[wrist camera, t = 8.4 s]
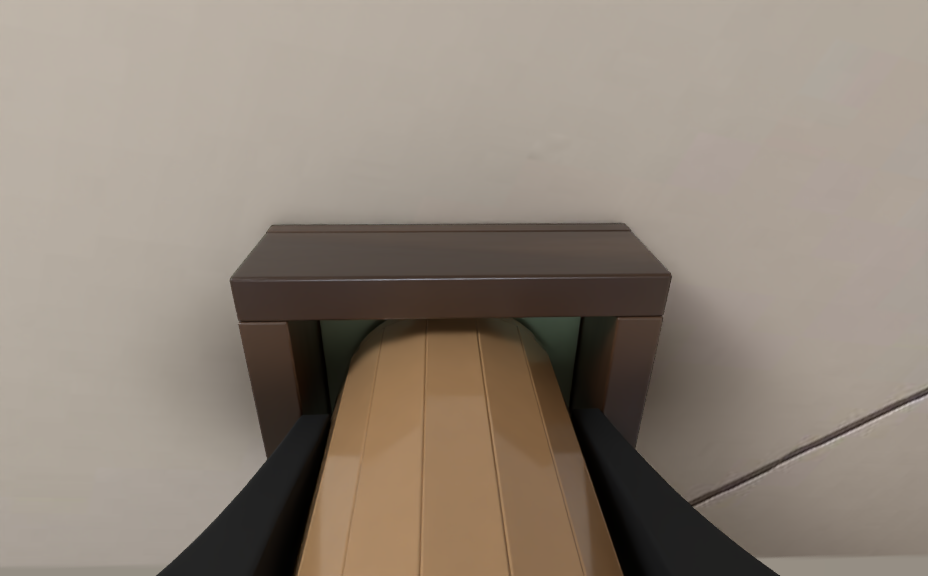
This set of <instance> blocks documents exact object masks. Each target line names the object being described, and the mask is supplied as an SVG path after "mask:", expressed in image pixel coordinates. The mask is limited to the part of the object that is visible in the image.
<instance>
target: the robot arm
mask: <svg viewBox="0 0 928 576" xmlns="http://www.w3.org/2000/svg"><path fill="white" fill-rule="evenodd" d="M571 418H572V420H573V423H574V426H575V429H576V432H577V435H578V438H579V441H580V444H581V447H582V449H583V452H584V455H585V458H586V461H587V464H588V466H589V469H590V472H591V475H592V478H593V481H594V484H595V487H596V490H597V493H598V495H599V498H600V501H601V504H602V507H603V510H604V513H605V516H606V519H607V522H608V524H609V527H610V530H611V533H612V536H613V539H614V542H615V545H616V548H617V550H618V553H619V556H620V559H621V562H622V565H623V568H624V571H625V574H626V576H780V575H778V574H777V573H775V572H774V571H773V570H771V569H770V568H768V567H767V566H766V565H764V564H763V563H761V562H760V561H759V560H757V559H756V558H755V557H753V556H752V555H751V554H749V553H748V552H747V551H745V550H744V549H743V548H741V547H740V546H739V545H737V544H736V543H735V542H734V541H732V540H731V539H730V538H729V537H728V536H726V535H725V534H724V533H723V532H721V531H720V530H719V529H718V528H716V527H715V526H714V525H713V524H712V523H710V522H709V521H708V520H707V519H706V518H704V517H703V516H702V515H701V514H700V513H699V512H698V511H696V510H695V509H694V508H693V507H692V506H691V505H690V504H689V503H688V502H687V501H686V500H685V499H684V498H682V497H681V496H680V495H679V494H678V493H677V492H676V491H675V490H674V489H673V488H672V487H671V486H670V485H669V484H668V483H667V482H666V481H665V480H664V479H663V478H662V477H661V476H660V475H659V474H658V473H657V472H656V471H655V470H654V469H653V468H652V467H651V466H650V465H649V464H648V463H647V462H646V461H645V460H644V458H643V457H642V456H641V455H640V454H639V453H638V452H637V451H636V450H635V449H634V448H633V447H632V445H631V444H630V443H629V442H628V441H627V440H626V439H625V438H624V437H623V435H622V434H621V433H620V432H619V431H618V430H617V429H616V428H615V426H614V425H613V424H612V423H611V422H610V421H609V420H608V418H607V417H606V416H605V415H604V414H603V413H602V412H601V411H600V410H599V409H598V408H593V409H573V410H572V417H571ZM329 426H330V416H329V414H327V415H302V416H301V417H300V418H299V419H298V420H297V421H296V423H295V424H294V425H293V427H292V428H291V430H290V431H289V432H288V434H287V435H286V436H285V438H284V439H283V440H282V442H281V443H280V444H279V445H278V447H277V448H276V449H275V451H274V452H273V453H272V454H271V456H270V457H269V458H268V459H267V461H266V462H265V463H264V464H263V466H262V467H261V468H260V469H259V470H258V472H257V473H256V474H255V475H254V476H253V478H252V479H251V480H250V481H249V482H248V484H247V485H246V486H245V487H244V488H243V490H242V491H241V492H240V493H239V494H238V495H237V496H236V497H235V498H234V500H233V501H232V502H231V503H230V504H229V505H228V506H227V507H226V508H225V509H224V510H223V512H222V513H221V514H220V515H219V516H218V517H217V518H216V519H215V520H214V521H213V522H212V523H211V524H210V525H209V526H208V527H207V529H206V530H205V531H204V532H203V533H202V534H201V535H200V536H199V537H198V538H197V539H196V540H195V541H194V542H192V543H191V544H190V545H189V546H188V547H187V548H186V549H185V550H184V551H183V552H182V553H181V554H180V555H179V556H178V557H177V558H176V559H175V560H173V561H172V562H171V563H170V564H169V565H168V566H167V567H166V568H164V569H163V570H162V571H161V572H160V573H159V574H158V575H156V576H290V574H291V570H292V566H293V562H294V559H295V555H296V551H297V547H298V543H299V539H300V536H301V532H302V528H303V524H304V520H305V517H306V513H307V509H308V505H309V501H310V497H311V494H312V490H313V486H314V482H315V478H316V474H317V471H318V467H319V464H320V460H321V457H322V453H323V449H324V445H325V441H326V438H327V434H328V430H329Z"/></svg>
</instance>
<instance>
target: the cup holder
mask: <svg viewBox="0 0 928 576" xmlns="http://www.w3.org/2000/svg"><path fill="white" fill-rule="evenodd" d="M671 278H672V276H671V273H670V272H669V271H668V270H667V269H666V268H665V267H664V266H663V265H662V263H661V262H660V261H659V260H658V259H657V258H656V257H655V256H654V255H653V254H652V253H651V252H650V251H649V250H648V249H647V247H646V246H645V245H644V244H643V243H642V242H641V241H640V240H639V239H638V238H637V237H636V236H635V235H634V234H633V233H632V232H631V230H630V229H629V228H628V226H627V225H626V224H486V225H272V226H271V227H270V228H269V229H268V231H267V232H266V234H265V235H264V236H263V238H262V239H261V240H260V241H259V243H258V244H257V245H256V246H255V248H254V249H253V250H252V251H251V253H250V254H249V255H248V256H247V258H246V259H245V260H244V261H243V263H242V264H241V265H240V266H239V268H238V269H237V270H236V271H235V273H234V274H233V275H232V276H231V278H230V284H231V289H232V294H233V298H234V303H235V308H236V312H237V317H238V320H239V324H238V325H239V329H240V334H241V339H242V343H243V348H244V353H245V358H246V362H247V367H248V372H249V376H250V381H251V386H252V391H253V395H254V400H255V405H256V409H257V414H258V419H259V423H260V428H261V433H262V438H263V442H264V447H265V452H266V456H267V459H268V458H269V457H270V456H271V454H272V453H273V452H274V451H275V449H276V448H277V447H278V445H279V444H280V443H281V442H282V440H283V439H284V438H285V436H286V435H287V434H288V432H289V431H290V430H291V428H292V427H293V425H294V424H295V423H296V421H297V420H298V419H299V418H300V417H301V416H302V415H327V414H329V416H330V421H331V417H332V413H333V409H334V406H335V402H336V398H337V394H338V390H339V388H340V385H341V383H342V380H343V377H344V374H345V370H346V367H347V364H348V362H349V360H350V358H351V356H352V354H353V352H354V351H355V350H356V348H357V347H358V345H359V344H360V343H361V341H362V340H363V339H364V338H365V337H366V336H367V335H368V334H369V333H370V332H371V331H373V330H374V329H375V328H376V327H378V326H379V325H380V324H382V323H383V322H385V321H387V320H388V319H460V318H513V319H514V320H516V321H518V322H520V323H521V324H522V325H523V326H525V327H526V328H527V329H529V330H530V331H531V332H532V333H533V334H534V335H535V336H536V337H537V338H538V340H539V341H540V342H541V344H542V345H543V346H544V348H545V349H546V351H547V353H548V355H549V357H550V359H551V361H552V364H553V367H554V370H555V373H556V375H557V378H558V380H559V383H560V385H561V388H562V391H563V394H564V397H565V400H566V403H567V406H568V409H569V411H570V414H571V417H572V410H573V409H593V408H598V409H599V410H600V411H601V412H602V413H603V414H604V415H605V416H606V417H607V418H608V420H609V421H610V422H611V423H612V424H613V425H614V426H615V428H616V429H617V430H618V431H619V432H620V433H621V434H622V435H623V437H624V438H625V439H626V440H627V441H628V442H629V443H630V444H631V445H632V447H633V448H634V449H635V447H636V442H637V438H638V433H639V428H640V424H641V419H642V414H643V410H644V405H645V400H646V396H647V391H648V387H649V382H650V377H651V373H652V368H653V363H654V359H655V354H656V349H657V345H658V340H659V335H660V331H661V326H662V322H663V317H662V315H663V314H664V310H665V306H666V301H667V296H668V292H669V287H670V282H671Z"/></svg>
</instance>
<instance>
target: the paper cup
mask: <svg viewBox="0 0 928 576" xmlns="http://www.w3.org/2000/svg"><path fill="white" fill-rule="evenodd" d="M290 576H626V574H625V571H624V568H623V565H622V562H621V559H620V556H619V553H618V550H617V548H616V545H615V542H614V539H613V536H612V533H611V530H610V527H609V524H608V522H607V519H606V516H605V513H604V510H603V507H602V504H601V501H600V498H599V495H598V493H597V490H596V487H595V484H594V481H593V478H592V475H591V472H590V469H589V466H588V464H587V461H586V458H585V455H584V452H583V449H582V447H581V444H580V441H579V438H578V435H577V432H576V429H575V426H574V423H573V420H572V418H571V414H570V411H569V409H568V406H567V403H566V400H565V397H564V394H563V391H562V388H561V385H560V383H559V380H558V378H557V375H556V373H555V370H554V367H553V364H552V361H551V359H550V357H549V355H548V353H547V351H546V349H545V348H544V346H543V345H542V344H541V342H540V341H539V340H538V338H537V337H536V336H535V335H534V334H533V333H532V332H531V331H530V330H529V329H527V328H526V327H525V326H523V325H522V324H521V323H520V322H518V321H516V320H514V319H513V318H460V319H388V320H387V321H385V322H383V323H382V324H380V325H379V326H378V327H376V328H375V329H374V330H373V331H371V332H370V333H369V334H368V335H367V336H366V337H365V338H364V339H363V340H362V341H361V343H360V344H359V345H358V347H357V348H356V350H355V351H354V352H353V354H352V356H351V358H350V360H349V362H348V364H347V367H346V370H345V374H344V377H343V380H342V383H341V385H340V388H339V390H338V394H337V398H336V402H335V406H334V409H333V413H332V417H331V421H330V426H329V430H328V434H327V438H326V441H325V445H324V449H323V453H322V457H321V460H320V464H319V467H318V471H317V474H316V478H315V482H314V486H313V490H312V494H311V497H310V501H309V505H308V509H307V513H306V517H305V520H304V524H303V528H302V532H301V536H300V539H299V543H298V547H297V551H296V555H295V559H294V562H293V566H292V570H291V574H290Z"/></svg>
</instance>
